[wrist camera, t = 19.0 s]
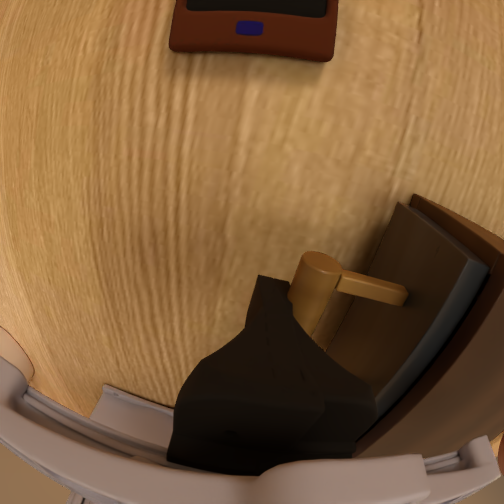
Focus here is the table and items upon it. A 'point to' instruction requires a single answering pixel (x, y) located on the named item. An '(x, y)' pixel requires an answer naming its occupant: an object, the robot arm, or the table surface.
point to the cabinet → (453, 366)
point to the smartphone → (256, 27)
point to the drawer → (393, 302)
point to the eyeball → (501, 455)
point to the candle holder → (15, 354)
